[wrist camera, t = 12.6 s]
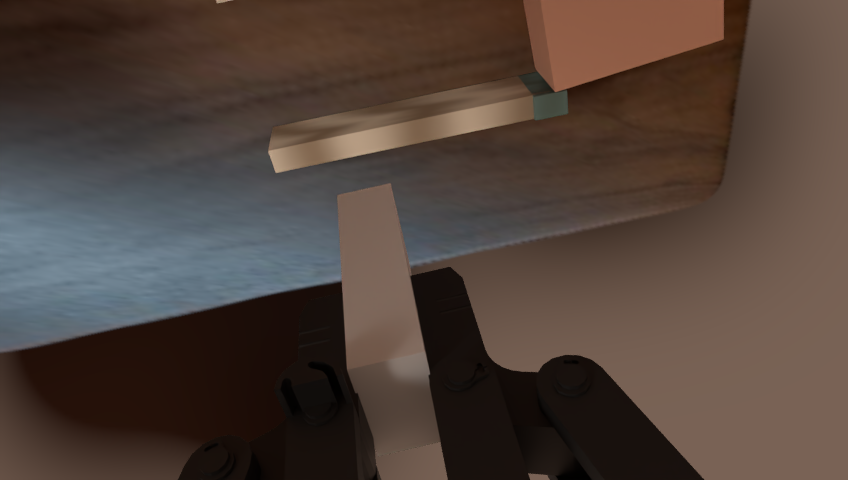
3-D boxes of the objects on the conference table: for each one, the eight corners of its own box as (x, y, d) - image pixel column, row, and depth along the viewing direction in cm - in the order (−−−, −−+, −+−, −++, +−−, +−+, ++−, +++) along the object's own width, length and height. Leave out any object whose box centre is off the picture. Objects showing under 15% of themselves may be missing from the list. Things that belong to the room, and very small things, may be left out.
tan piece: (279, 148, 40) (275, 175, 37) (217, -40, 34) (205, -27, 30) (549, 91, 40) (567, 113, 37) (539, -107, 34) (560, -100, 31)
